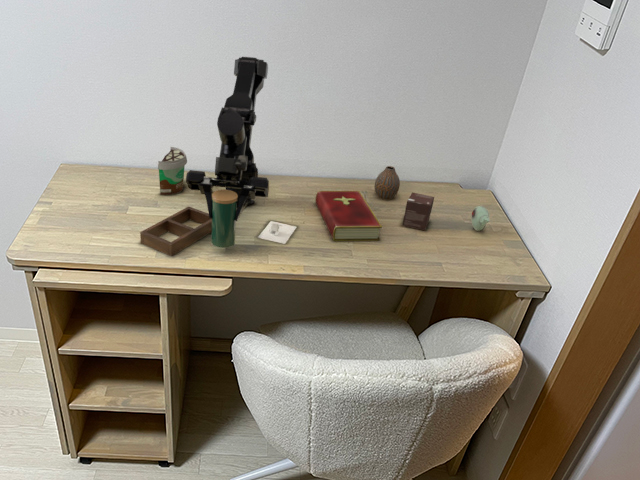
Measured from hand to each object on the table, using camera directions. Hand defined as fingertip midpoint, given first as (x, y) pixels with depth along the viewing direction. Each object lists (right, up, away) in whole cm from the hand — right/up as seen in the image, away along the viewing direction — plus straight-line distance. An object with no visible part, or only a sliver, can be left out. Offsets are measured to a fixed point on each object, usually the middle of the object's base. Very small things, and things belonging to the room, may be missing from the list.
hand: (223, 219), depth 139 cm
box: (+50, +2, +22) cm, 55 cm away
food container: (-14, +13, +33) cm, 38 cm away
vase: (+45, +11, +36) cm, 59 cm away
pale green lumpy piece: (+65, 0, +21) cm, 69 cm away
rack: (-11, -2, +11) cm, 16 cm away
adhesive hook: (+13, -1, +15) cm, 20 cm away
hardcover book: (+31, +2, +22) cm, 38 cm away
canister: (0, -5, +5) cm, 7 cm away
